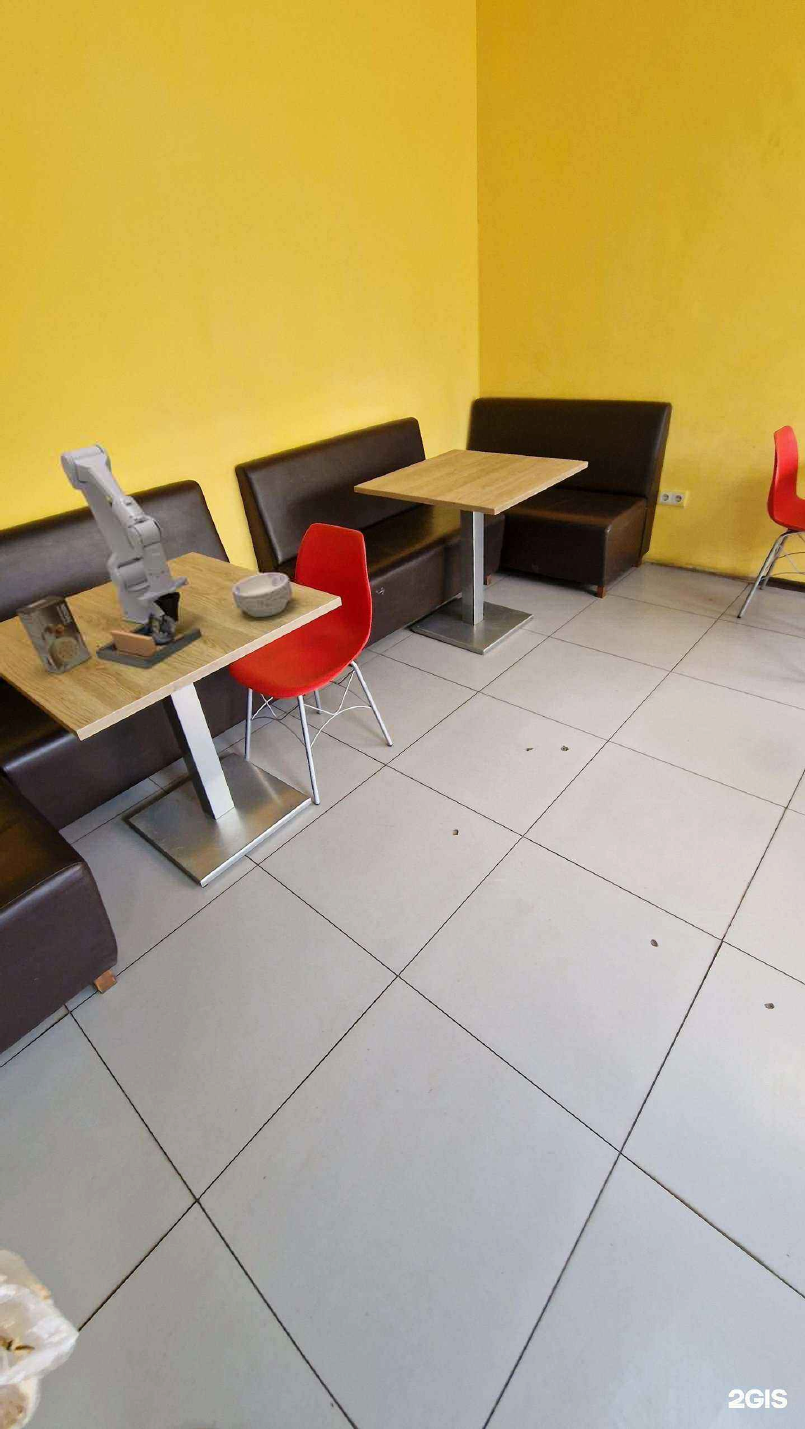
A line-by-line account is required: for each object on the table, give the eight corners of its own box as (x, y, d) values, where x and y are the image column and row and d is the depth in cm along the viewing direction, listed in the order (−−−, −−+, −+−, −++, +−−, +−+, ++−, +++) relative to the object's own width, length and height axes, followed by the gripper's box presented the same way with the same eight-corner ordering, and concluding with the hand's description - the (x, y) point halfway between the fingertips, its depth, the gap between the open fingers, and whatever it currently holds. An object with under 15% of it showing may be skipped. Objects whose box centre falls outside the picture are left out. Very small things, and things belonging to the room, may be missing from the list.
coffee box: (77, 653, 159) (51, 594, 150) (92, 657, 156) (66, 597, 147) (44, 670, 153) (14, 609, 144) (59, 675, 150) (30, 613, 141)
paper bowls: (227, 615, 170) (219, 587, 165) (270, 594, 179) (264, 568, 174) (262, 627, 161) (255, 598, 156) (306, 605, 170) (300, 577, 165)
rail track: (98, 657, 156) (95, 650, 155) (153, 626, 168) (151, 619, 167) (147, 669, 147) (144, 662, 146) (202, 635, 160) (199, 628, 159)
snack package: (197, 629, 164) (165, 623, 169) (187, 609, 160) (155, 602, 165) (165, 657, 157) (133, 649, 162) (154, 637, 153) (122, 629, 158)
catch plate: (117, 649, 158) (110, 631, 155) (121, 647, 159) (114, 629, 156) (155, 658, 151) (148, 639, 149) (159, 656, 152) (152, 637, 149)
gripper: (145, 583, 148) (163, 635, 156) (190, 561, 158) (205, 611, 166) (125, 580, 151) (144, 631, 159) (170, 559, 162) (186, 608, 169)
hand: (174, 620), depth 163 cm, fingers closed
